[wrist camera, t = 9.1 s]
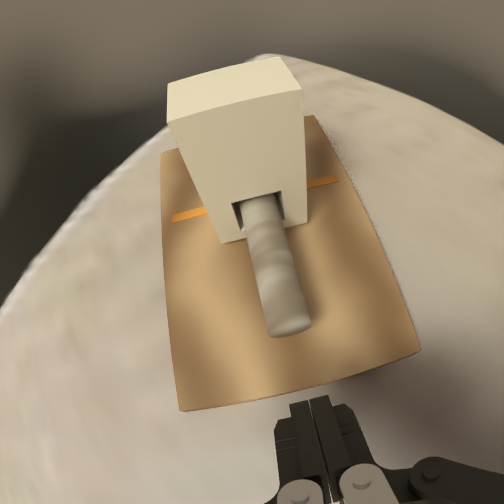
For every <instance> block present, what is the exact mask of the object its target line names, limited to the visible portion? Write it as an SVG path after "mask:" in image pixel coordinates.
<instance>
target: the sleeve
mask: <svg viewBox="0 0 504 504" xmlns="http://www.w3.org/2000/svg"><path fill="white" fill-rule="evenodd" d="M167 96H168V97H167V123H168V126H169V128H170V130H171V132H172V135H173V137H174V139H175V142H176V144H177V146H178V148H179V151H180V153H181V155H182V158H183V160H184V162H185V164H186V167H187V169H188V171H189V173H190V176H191V178H192V180H193V182H194V185H195V187H196V189H197V191H198V194H199V196H200V198H201V200H202V202H203V205H204V207H205V209H206V211H207V213H208V216H209V218H210V220H211V222H212V224H213V227H214V229H215V231H216V233H217V235H218V238H219V240H220V242H221V244H224V243H228V242H232V241H235V240H239V239H243V238H247V237H246V233H245V228H244V224H243V219H242V215H241V210H240V206H239V201H241V200H245V199H249V198H253V197H257V196H261V195H265V194H269V193H273V194H274V197H275V201H276V204H277V207H278V210H279V213H280V217H281V220H282V223H283V226H284V228H287V227H291V226H295V225H300V224H304V223H307V184H306V155H305V133H304V115H303V99H302V88H301V87H300V85H299V84H298V82H297V81H296V79H295V78H294V76H293V75H292V74H291V72H290V71H289V69H288V68H287V66H286V65H285V63H284V62H283V61H282V59H281V58H280V56H279V57H273V58H267V59H262V60H257V61H252V62H247V63H243V64H238V65H234V66H229V67H225V68H222V69H217V70H214V71H210V72H206V73H202V74H199V75H195V76H192V77H189V78H185V79H182V80H178V81H175V82H172V83H169V84H168V94H167Z"/></svg>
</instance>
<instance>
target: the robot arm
mask: <svg viewBox="0 0 504 504" xmlns="http://www.w3.org/2000/svg"><path fill="white" fill-rule="evenodd" d="M309 401H310V407H311V410H310V407H309V403H308V400H305V401H301V402H297V403H293V404H289V406H290V412H291V417H290V418H285V419H281V420H278V422H277V424H276V427H275V429H274V437H275V445H276V454H277V463H278V471H279V480H280V486H279V490H278V492H277V494H276V495H275V496H274V497H273V498H272V499H271V500H270V501H268V502H267V503H264V504H330V503H331V497H330V491H331V495H332V499H333V503H334V502H338V501H339V502H340V504H504V474H499V473H495V472H491V471H487V470H483V469H479V468H475V467H472V466H468V465H464V464H461V463H457V462H454V461H451V460H447V459H444V458H441V457H427V458H424V459H422V460H420V461H419V462H417V463H416V464H415V465H414V467H413V468H408V469H399V470H389V469H385V468H382V467H380V466H379V465H378V464H376V462H375V461H374V460H373V457H372V455H371V453H370V450H369V448H368V445H367V443H366V440H365V438H364V436H363V433H362V431H361V428H360V426H359V423H358V422H357V419H356V416H355V414H354V412H353V410H352V409H350V408H349V407H348V406H347V405H345V404H341V405H337V406H334V407H332V405H331V402H330V399H329V396H328V395H325V396H321V397H317V398H313V399H309ZM311 412H312V414H311ZM312 417H313V418H312ZM328 483H329V484H328ZM329 487H330V491H329Z"/></svg>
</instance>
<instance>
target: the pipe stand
mask: <svg viewBox="0 0 504 504" xmlns="http://www.w3.org/2000/svg"><path fill="white" fill-rule="evenodd" d="M304 133H305V155H306V184H307V223H304V224H300V225H295V226H291V227H287V228H284V226H283V223H282V220H281V217H280V213H279V210H278V207H277V204H276V201H275V197H274V194H273V193H269V194H265V195H261V196H257V197H253V198H249V199H245V200H241V201H239V206H240V210H241V215H242V219H243V224H244V228H245V233H246V237H247V238H243V239H239V240H235V241H232V242H228V243H224V244H221V242H220V240H219V238H218V235H217V233H216V231H215V229H214V227H213V224H212V222H211V220H210V218H209V216H208V213H207V211H206V209H205V207H204V205H203V202H202V200H201V198H200V196H199V194H198V191H197V189H196V187H195V185H194V182H193V180H192V178H191V176H190V173H189V171H188V169H187V167H186V164H185V162H184V160H183V158H182V155H181V153H180V151H179V148H176V149H173V150H169V151H166V152H163V153H161V224H162V247H163V265H164V280H165V293H166V305H167V316H168V326H169V336H170V345H171V353H172V361H173V369H174V376H175V384H176V391H177V397H178V404H179V410H180V411H184V412H187V411H195V410H202V409H209V408H216V407H222V406H228V405H234V404H239V403H245V402H250V401H255V400H260V399H265V398H270V397H274V396H279V395H283V394H287V393H292V392H296V391H300V390H304V389H308V388H312V387H315V386H319V385H323V384H326V383H330V382H333V381H337V380H340V379H344V378H347V377H350V376H353V375H357V374H360V373H363V372H366V371H369V370H372V369H375V368H378V367H381V366H384V365H387V364H389V363H392V362H395V361H398V360H400V359H403V358H406V357H408V356H411V355H414V354H416V353H417V352H419V351H421V348H420V345H419V342H418V339H417V336H416V333H415V330H414V327H413V325H412V322H411V319H410V316H409V313H408V311H407V308H406V305H405V303H404V300H403V297H402V295H401V292H400V289H399V287H398V284H397V282H396V279H395V277H394V274H393V272H392V270H391V267H390V265H389V262H388V260H387V258H386V255H385V253H384V251H383V248H382V246H381V244H380V241H379V239H378V237H377V235H376V233H375V230H374V228H373V226H372V224H371V222H370V220H369V217H368V215H367V213H366V211H365V209H364V207H363V205H362V203H361V201H360V199H359V197H358V195H357V193H356V191H355V189H354V187H353V185H352V183H351V181H350V179H349V177H348V175H347V173H346V171H345V169H344V168H343V166H342V164H341V162H340V160H339V158H338V156H337V155H336V153H335V151H334V149H333V147H332V146H331V144H330V142H329V140H328V138H327V137H326V135H325V133H324V132H323V130H322V128H321V126H320V125H319V123H318V121H317V120H316V118H315V116H314V115H311V116H305V117H304Z"/></svg>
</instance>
